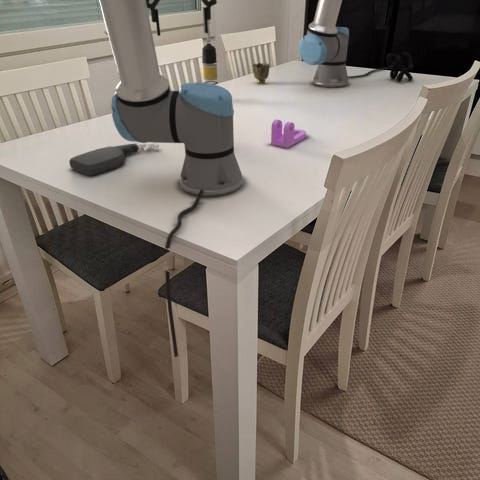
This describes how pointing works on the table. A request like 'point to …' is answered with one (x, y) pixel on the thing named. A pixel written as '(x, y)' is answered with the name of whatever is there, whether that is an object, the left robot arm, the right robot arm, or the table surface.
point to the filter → (209, 60)
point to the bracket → (285, 134)
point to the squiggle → (399, 66)
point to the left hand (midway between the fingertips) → (182, 34)
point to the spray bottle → (106, 158)
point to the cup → (261, 72)
